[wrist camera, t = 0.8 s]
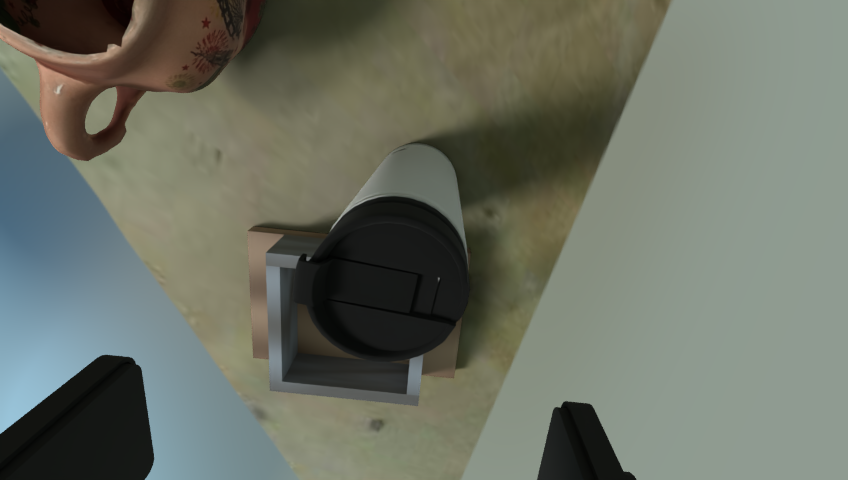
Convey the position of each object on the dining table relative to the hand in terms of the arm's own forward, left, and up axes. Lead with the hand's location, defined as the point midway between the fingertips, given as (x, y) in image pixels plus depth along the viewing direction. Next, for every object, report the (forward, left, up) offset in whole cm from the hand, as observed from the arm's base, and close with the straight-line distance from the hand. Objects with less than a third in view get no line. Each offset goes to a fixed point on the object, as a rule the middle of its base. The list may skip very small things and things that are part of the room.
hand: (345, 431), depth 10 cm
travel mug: (0, 0, -26) cm, 26 cm away
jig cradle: (+11, -4, -26) cm, 29 cm away
